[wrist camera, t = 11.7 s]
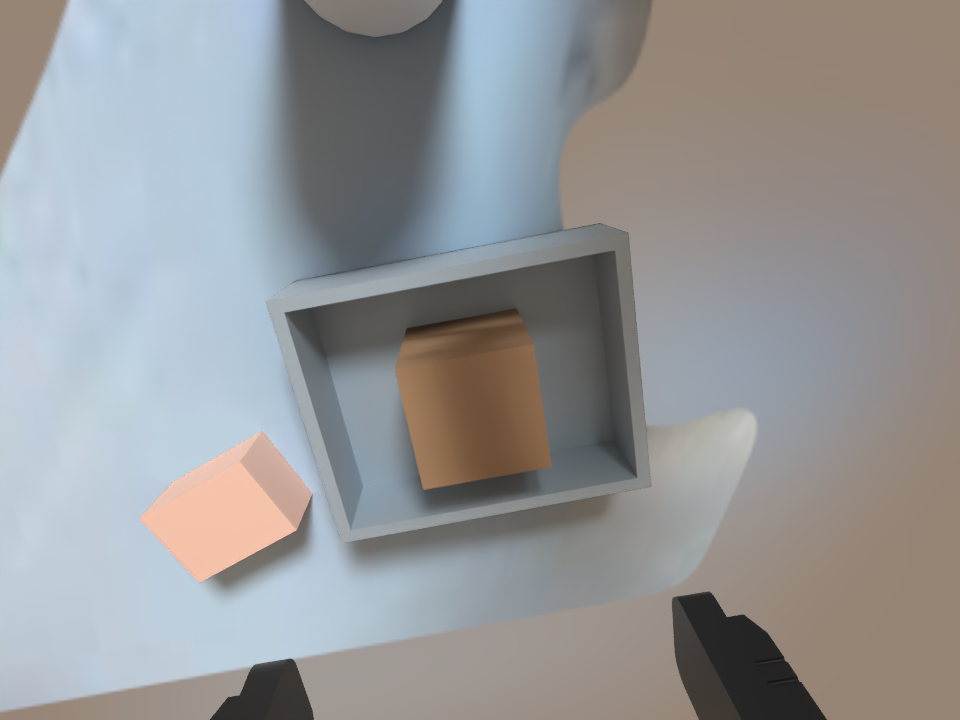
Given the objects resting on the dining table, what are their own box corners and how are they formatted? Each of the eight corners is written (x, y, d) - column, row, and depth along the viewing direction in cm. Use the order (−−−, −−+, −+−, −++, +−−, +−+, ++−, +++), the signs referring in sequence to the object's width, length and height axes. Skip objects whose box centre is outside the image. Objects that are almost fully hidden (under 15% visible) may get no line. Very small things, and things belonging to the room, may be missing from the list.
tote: (294, 280, 27) (265, 301, 22) (600, 223, 27) (628, 232, 22) (356, 491, 31) (341, 543, 26) (623, 442, 30) (651, 486, 26)
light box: (173, 480, 30) (139, 518, 27) (263, 429, 29) (239, 461, 26) (226, 539, 31) (199, 582, 28) (313, 491, 31) (296, 530, 27)
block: (428, 427, 29) (423, 490, 23) (406, 328, 27) (394, 368, 21) (532, 409, 29) (552, 467, 23) (516, 308, 27) (533, 344, 21)
